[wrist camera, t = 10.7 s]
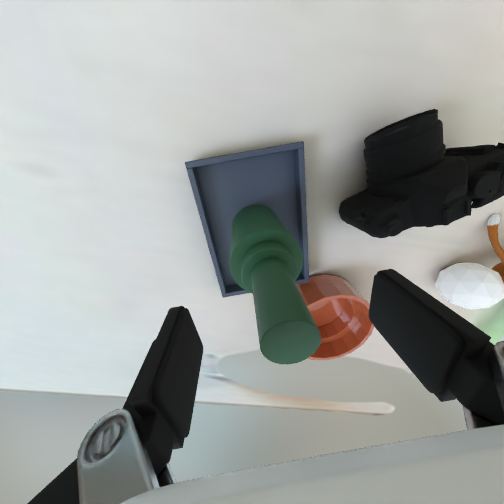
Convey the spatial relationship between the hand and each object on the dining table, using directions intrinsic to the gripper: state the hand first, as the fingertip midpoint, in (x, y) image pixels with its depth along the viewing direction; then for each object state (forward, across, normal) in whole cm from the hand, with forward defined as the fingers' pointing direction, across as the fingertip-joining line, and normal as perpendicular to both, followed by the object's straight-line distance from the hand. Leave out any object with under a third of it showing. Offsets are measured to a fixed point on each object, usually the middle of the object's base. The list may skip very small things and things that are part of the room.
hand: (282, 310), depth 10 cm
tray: (+17, 0, +1) cm, 17 cm away
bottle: (+16, 0, +1) cm, 16 cm away
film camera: (+17, -17, -3) cm, 24 cm away
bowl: (+16, -8, +16) cm, 24 cm away
